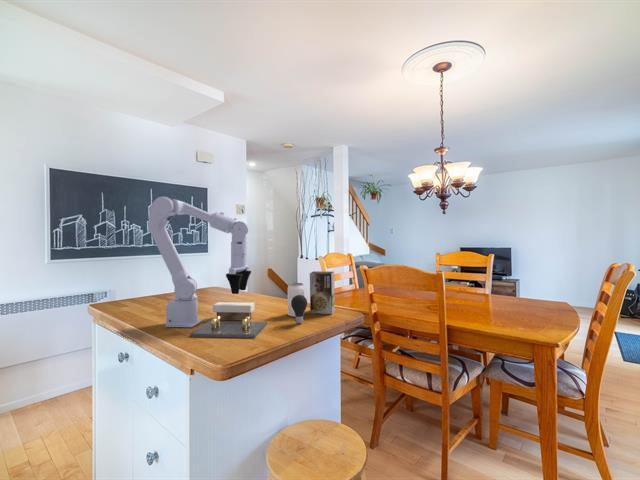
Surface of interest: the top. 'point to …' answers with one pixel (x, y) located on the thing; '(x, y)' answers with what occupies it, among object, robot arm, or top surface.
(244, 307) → the board
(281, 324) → the top surface
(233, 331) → the plate
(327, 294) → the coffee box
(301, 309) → the light bulb
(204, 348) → the top surface
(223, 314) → the brown rectangular block
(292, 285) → the can
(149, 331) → the top surface
